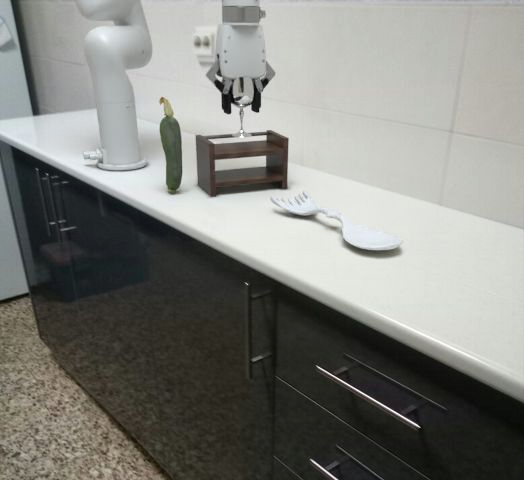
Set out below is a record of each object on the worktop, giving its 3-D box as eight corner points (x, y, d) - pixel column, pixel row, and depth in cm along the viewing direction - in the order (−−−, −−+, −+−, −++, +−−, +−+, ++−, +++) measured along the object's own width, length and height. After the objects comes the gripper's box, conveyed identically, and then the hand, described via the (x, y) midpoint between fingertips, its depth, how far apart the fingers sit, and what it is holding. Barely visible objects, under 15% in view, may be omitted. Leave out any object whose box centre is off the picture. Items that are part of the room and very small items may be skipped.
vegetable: (187, 192, 130) (182, 96, 120) (179, 197, 127) (172, 99, 116) (169, 190, 131) (163, 94, 121) (160, 195, 128) (153, 97, 118)
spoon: (303, 204, 123) (304, 188, 121) (412, 253, 100) (415, 233, 98) (268, 211, 119) (268, 194, 117) (372, 263, 96) (375, 243, 94)
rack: (210, 196, 128) (209, 143, 122) (197, 185, 135) (195, 135, 130) (287, 188, 134) (288, 138, 128) (270, 178, 142) (271, 129, 136)
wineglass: (251, 138, 126) (251, 77, 120) (225, 137, 127) (224, 76, 120) (257, 133, 131) (257, 74, 124) (232, 132, 132) (231, 74, 125)
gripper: (272, 16, 123) (271, 108, 132) (194, 16, 117) (198, 112, 126) (287, 17, 117) (284, 113, 126) (205, 17, 111) (208, 117, 120)
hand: (241, 111), depth 126 cm, fingers closed on wineglass, 5 cm apart
